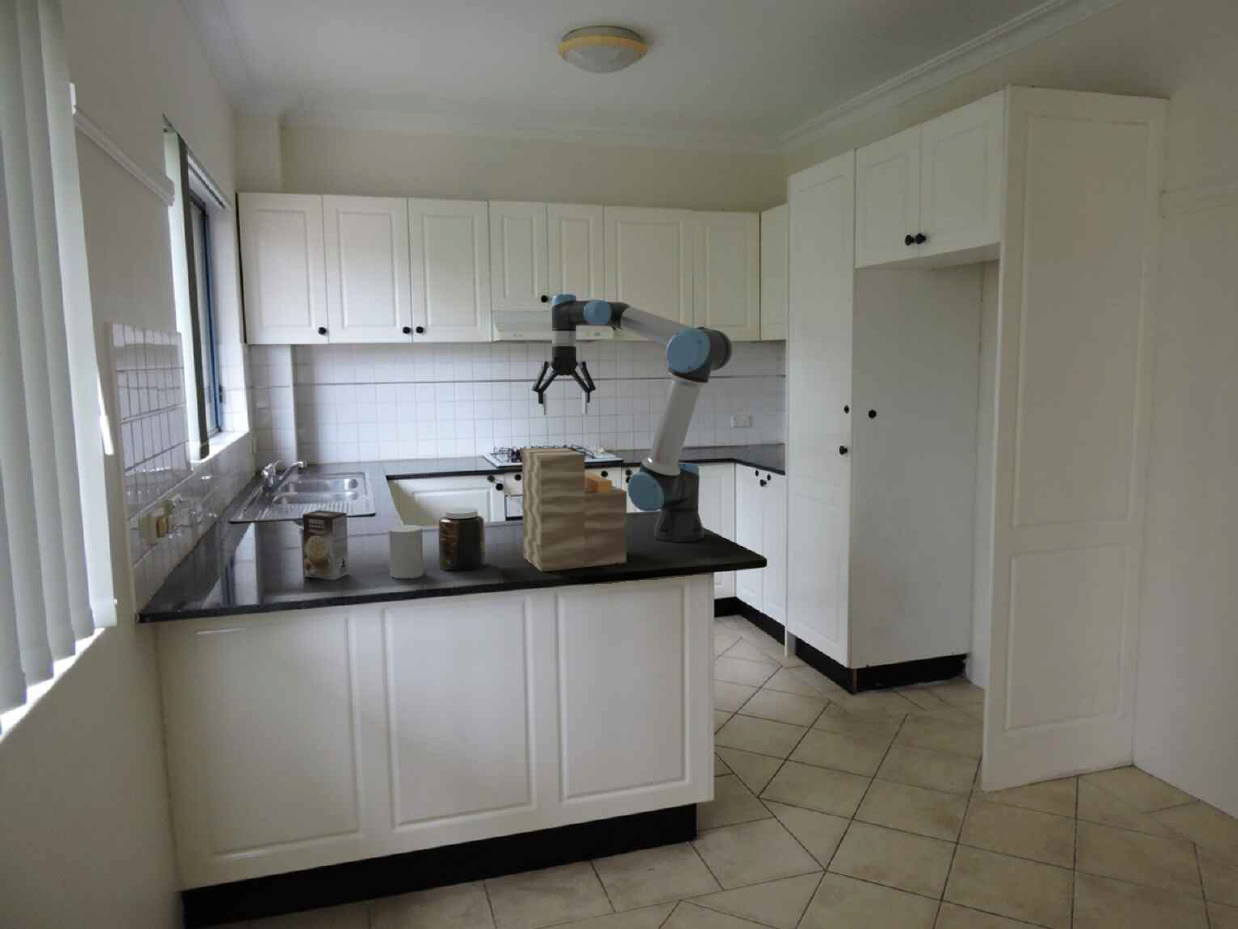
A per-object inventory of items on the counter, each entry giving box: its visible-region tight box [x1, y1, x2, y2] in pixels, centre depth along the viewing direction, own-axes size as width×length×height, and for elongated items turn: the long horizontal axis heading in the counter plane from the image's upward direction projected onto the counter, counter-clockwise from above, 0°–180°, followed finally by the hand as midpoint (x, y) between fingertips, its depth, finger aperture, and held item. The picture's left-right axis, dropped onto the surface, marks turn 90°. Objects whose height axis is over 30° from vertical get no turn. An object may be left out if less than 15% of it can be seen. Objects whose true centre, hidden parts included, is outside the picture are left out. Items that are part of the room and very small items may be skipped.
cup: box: [388, 524, 424, 579], centre depth 214 cm, size 8×8×12 cm
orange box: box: [585, 470, 613, 493], centre depth 235 cm, size 26×4×3 cm, turn 24°
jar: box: [437, 507, 486, 572], centre depth 223 cm, size 12×12×15 cm
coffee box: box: [302, 509, 349, 581], centre depth 213 cm, size 9×6×16 cm
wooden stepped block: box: [520, 446, 628, 572], centre depth 229 cm, size 17×24×30 cm
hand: (564, 414), depth 264 cm, fingers open, 13 cm apart
